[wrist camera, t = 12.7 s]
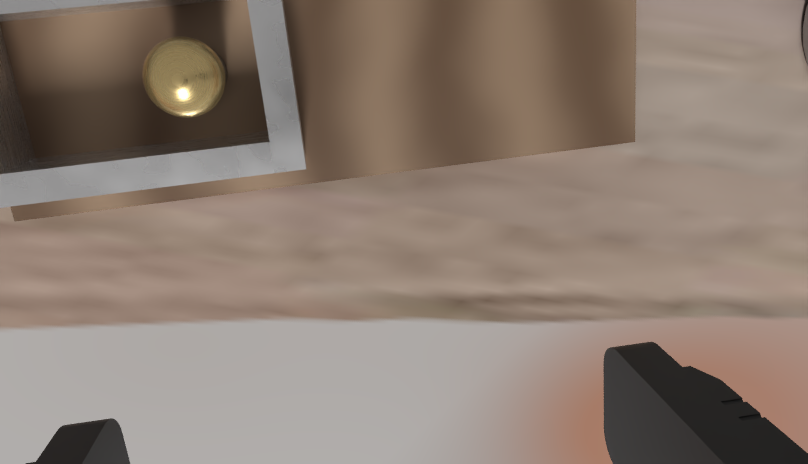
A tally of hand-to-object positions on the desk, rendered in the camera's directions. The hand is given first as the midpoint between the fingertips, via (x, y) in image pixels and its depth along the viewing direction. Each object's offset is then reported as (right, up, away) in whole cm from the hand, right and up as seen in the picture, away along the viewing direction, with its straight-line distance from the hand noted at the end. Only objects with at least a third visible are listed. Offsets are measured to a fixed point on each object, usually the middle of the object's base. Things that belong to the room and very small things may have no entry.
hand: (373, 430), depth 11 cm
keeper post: (-9, +11, +20) cm, 25 cm away
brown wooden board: (-3, +12, +22) cm, 25 cm away
